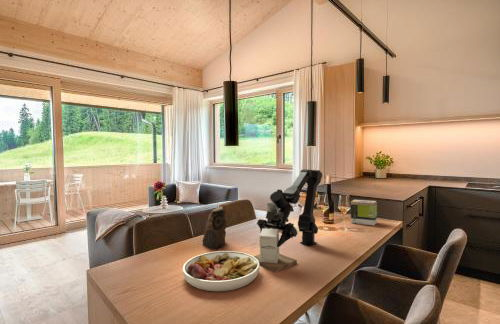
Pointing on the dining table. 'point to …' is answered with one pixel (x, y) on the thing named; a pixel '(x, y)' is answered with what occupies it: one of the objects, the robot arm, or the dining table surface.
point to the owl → (215, 229)
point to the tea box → (364, 212)
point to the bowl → (221, 270)
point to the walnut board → (281, 264)
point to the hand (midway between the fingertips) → (268, 244)
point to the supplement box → (269, 245)
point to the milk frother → (272, 210)
